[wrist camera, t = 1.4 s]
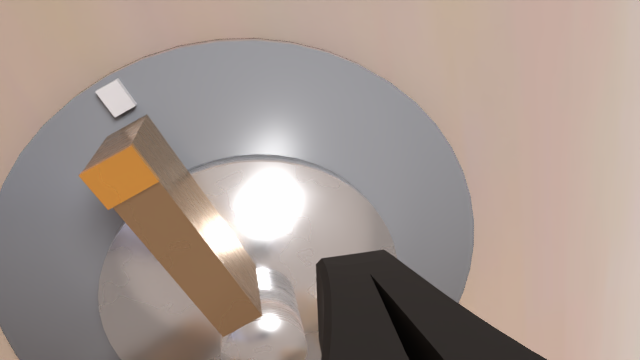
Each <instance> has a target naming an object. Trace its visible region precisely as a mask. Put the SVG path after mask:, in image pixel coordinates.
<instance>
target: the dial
mask: <svg viewBox="0 0 640 360" xmlns="http://www.w3.org/2000/svg"><path fill="white" fill-rule="evenodd" d="M79 177H80V178H81V179H82V180H83V182H84V183H85V184H86V185H87V186H88V187H89V189H90V190H91V191H92V192H93V193H94V194H95V196H96V197H97V198H98V199H99V200H100V201H101V203H102V204H103V205H104V206H105V207H106V208H107V209H108V210H109V209H111V208H113V209H114V210H115V211H116V212H117V213H118V215H119V216H120V217H121V218H122V219H123V220H124V222H123V223H122V225H121V226H120V228H119V229H118V231H117V232H116V235H115V237H114V239H113V241H112V243H111V246H110V248H109V250H108V253H107V255H106V258H105V260H104V264H103V267H102V271H101V275H100V279H99V290H98V302H99V313H100V317H101V321H102V325H103V329H104V331H105V333H106V335H107V338H108V340H109V342H110V344H111V346H112V347H113V349H114V350H115V352H116V353H117V355H118V356H119V358H120V359H121V360H321V357H322V354H321V349H320V343H319V334H318V309H317V284H316V264H317V263H318V261H319V260H320V259H321V258H327V257H334V256H341V255H349V254H356V253H363V252H370V251H377V250H386V251H387V252H389V253H390V254H391V255H393V256H394V257H396V258H397V255H396V250H395V246H394V243H393V240H392V238H391V235H390V233H389V230H388V228H387V227H386V225H385V223H384V222H383V220H382V218H381V217H380V215H379V214H378V212H377V211H376V209H375V208H374V206H373V205H372V204H371V203H370V202H369V200H368V199H367V198H366V197H365V196H364V194H363V193H362V192H360V191H359V190H358V189H357V188H356V187H355V186H354V185H352V184H351V183H350V182H349V181H347V180H346V179H344V178H342V177H341V176H339V175H338V174H336V173H335V172H333V171H331V170H328V169H326V168H324V167H322V166H320V165H317V164H314V163H311V162H308V161H305V160H301V159H298V158H292V157H286V156H281V155H265V154H252V155H239V156H232V157H227V158H222V159H217V160H213V161H210V162H207V163H204V164H201V165H198V166H195V167H192V168H190V169H188V170H187V169H186V167H185V166H184V165H183V163H182V162H181V161H180V159H179V158H178V156H177V155H176V154H175V152H174V151H173V149H172V148H171V147H170V145H169V144H168V143H167V141H166V140H165V138H164V137H163V136H162V134H161V133H160V131H159V130H158V129H157V127H156V126H155V124H154V123H153V122H152V120H151V119H150V118H149V116H148V115H147V114H146V115H145V116H143V117H141V118H139V119H137V120H136V121H134V122H132V123H130V124H128V125H127V126H125V127H123V128H121V129H120V130H118V131H116V132H114V133H112V134H111V135H109V136H107V137H106V139H105V140H104V141H103V143H102V144H101V146H100V147H99V149H98V150H97V151H96V153H95V154H94V156H93V157H92V158H91V160H90V161H89V163H88V164H87V166H86V167H85V168H84V170H83V171H82V172H81V173H80V174H79Z"/></svg>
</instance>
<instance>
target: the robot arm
mask: <svg viewBox="0 0 640 360" xmlns="http://www.w3.org/2000/svg"><path fill="white" fill-rule="evenodd" d="M316 284H317V309H318V334H319V343H320V349H321V354H322V357H321V360H547V359H545V358H543V357H542V356H540V355H538V354H536V353H535V352H533V351H531V350H530V349H528V348H526V347H525V346H523V345H522V344H520V343H518V342H517V341H515V340H514V339H512V338H510V337H509V336H507V335H505V334H504V333H502V332H501V331H499V330H497V329H496V328H494V327H493V326H491V325H490V324H488V323H487V322H485V321H484V320H482V319H481V318H479V317H478V316H476V315H474V314H473V313H472V312H470V311H469V310H467V309H466V308H464V307H463V306H461V305H460V304H458V303H457V302H456V301H454V300H453V299H451V298H450V297H449V296H447V295H446V294H444V293H443V292H442V291H440V290H439V289H437V288H436V287H435V286H433V285H432V284H431V283H429V282H428V281H426V280H425V279H424V278H422V277H421V276H420V275H418V274H417V273H416V272H414V271H413V270H412V269H410V268H409V267H408V266H406V265H405V264H404V263H402V262H401V261H400V260H398V259H397V258H396V257H394V256H393V255H391V254H390V253H389V252H387V251H386V250H377V251H370V252H363V253H356V254H349V255H341V256H334V257H327V258H321V259H320V260H319V261H318V263H317V264H316Z"/></svg>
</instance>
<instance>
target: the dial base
mask: <svg viewBox="0 0 640 360" xmlns="http://www.w3.org/2000/svg"><path fill="white" fill-rule="evenodd" d="M146 114H147V115H148V116H149V118H150V119H151V120H152V122H153V123H154V124H155V126H156V127H157V129H158V130H159V131H160V133H161V134H162V136H163V137H164V138H165V140H166V141H167V143H168V144H169V145H170V147H171V148H172V149H173V151H174V152H175V154H176V155H177V156H178V158H179V159H180V161H181V162H182V163H183V165H184V166H185V167H186V169H187V170H188V169H190V168H192V167H195V166H198V165H201V164H204V163H207V162H210V161H213V160H217V159H222V158H227V157H232V156H239V155H252V154H265V155H281V156H286V157H292V158H298V159H301V160H305V161H308V162H311V163H314V164H317V165H320V166H322V167H324V168H326V169H328V170H331V171H333V172H335V173H336V174H338V175H339V176H341V177H342V178H344V179H346V180H347V181H349V182H350V183H351V184H352V185H354V186H355V187H356V188H357V189H358V190H359V191H360V192H362V193H363V194H364V196H365V197H366V198H367V199H368V200H369V202H370V203H371V204H372V205H373V206H374V208H375V209H376V211H377V212H378V214H379V215H380V217H381V218H382V220H383V222H384V223H385V225H386V227H387V228H388V230H389V233H390V235H391V238H392V240H393V243H394V246H395V250H396V255H397V259H398V260H400V261H401V262H402V263H404V264H405V265H406V266H408V267H409V268H410V269H412V270H413V271H414V272H416V273H417V274H418V275H420V276H421V277H422V278H424V279H425V280H426V281H428V282H429V283H431V284H432V285H433V286H435V287H436V288H437V289H439V290H440V291H442V292H443V293H444V294H446V295H447V296H449V297H450V298H451V299H453V300H454V301H456V302H457V303H459V300H460V298H461V296H462V294H463V291H464V288H465V284H466V281H467V277H468V274H469V270H470V265H471V259H472V252H473V245H474V219H473V211H472V204H471V197H470V193H469V190H468V186H467V183H466V179H465V176H464V173H463V170H462V168H461V166H460V164H459V162H458V160H457V157H456V155H455V153H454V151H453V149H452V147H451V146H450V144H449V143H448V141H447V140H446V138H445V137H444V135H443V134H442V132H441V131H440V129H439V128H438V126H437V125H436V124H435V123H434V122H433V120H432V119H431V118H430V117H429V116H428V115H427V114H426V113H425V112H424V111H423V110H422V109H421V108H420V107H419V106H418V104H417V103H416V102H414V101H413V100H412V99H411V98H409V97H408V96H407V95H406V94H404V93H403V92H402V91H400V90H399V89H398V88H397V87H395V86H394V85H393V84H392V83H390V82H388V81H387V80H385V79H383V78H382V77H380V76H378V75H377V74H375V73H373V72H371V71H370V70H368V69H366V68H364V67H363V66H361V65H359V64H357V63H356V62H353V61H351V60H348V59H346V58H343V57H341V56H338V55H336V54H333V53H331V52H328V51H326V50H322V49H318V48H314V47H310V46H306V45H302V44H298V43H294V42H288V41H278V40H269V39H259V38H241V39H216V40H210V41H204V42H198V43H192V44H187V45H181V46H177V47H174V48H171V49H168V50H164V51H161V52H158V53H155V54H152V55H148V56H145V57H143V58H141V59H139V60H136V61H134V62H132V63H130V64H128V65H126V66H124V67H122V68H120V69H117V70H115V71H113V72H111V73H109V74H108V75H106V76H105V77H103V78H102V79H100V80H99V81H97V82H96V83H94V84H93V85H91V86H90V87H88V88H87V89H85V90H84V91H82V92H81V93H79V94H78V95H77V96H76V97H74V98H73V99H72V100H71V101H70V102H69V103H67V104H66V105H65V106H64V107H63V108H62V109H61V110H60V111H59V112H57V113H56V114H55V115H54V116H53V117H52V118H51V119H50V120H49V121H47V122H46V123H45V124H44V125H43V126H42V127H41V129H40V130H39V131H38V132H37V134H36V135H35V136H34V137H33V139H32V140H31V141H30V142H29V144H28V145H27V146H26V147H25V148H24V150H23V151H22V152H21V153H20V155H19V157H18V159H17V160H16V162H15V164H14V166H13V167H12V169H11V171H10V173H9V174H8V176H7V178H6V180H5V181H4V183H3V186H2V189H1V191H0V326H1V328H2V331H3V333H4V335H5V336H6V338H7V340H8V342H9V343H10V345H11V347H12V348H13V350H14V352H15V354H16V355H17V357H18V358H19V359H20V360H121V359H120V358H119V356H118V355H117V353H116V352H115V350H114V349H113V347H112V346H111V344H110V342H109V340H108V338H107V335H106V333H105V331H104V329H103V325H102V321H101V317H100V313H99V302H98V290H99V279H100V275H101V271H102V267H103V264H104V260H105V258H106V255H107V253H108V250H109V248H110V246H111V243H112V241H113V239H114V237H115V235H116V232H117V231H118V229H119V228H120V226H121V225H122V223H123V222H124V220H123V219H122V218H121V217H120V216H119V215H118V213H117V212H116V211H115V210H114V209H113V208H111V209H109V210H108V209H107V208H106V207H105V206H104V205H103V204H102V203H101V201H100V200H99V199H98V198H97V197H96V196H95V194H94V193H93V192H92V191H91V190H90V189H89V187H88V186H87V185H86V184H85V183H84V182H83V180H82V179H81V178H80V177H79V174H80V173H81V172H82V171H83V170H84V168H85V167H86V166H87V164H88V163H89V161H90V160H91V158H92V157H93V156H94V154H95V153H96V151H97V150H98V149H99V147H100V146H101V144H102V143H103V141H104V140H105V139H106V137H107V136H109V135H111V134H112V133H114V132H116V131H118V130H120V129H121V128H123V127H125V126H127V125H128V124H130V123H132V122H134V121H136V120H137V119H139V118H141V117H143V116H145V115H146Z"/></svg>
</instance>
